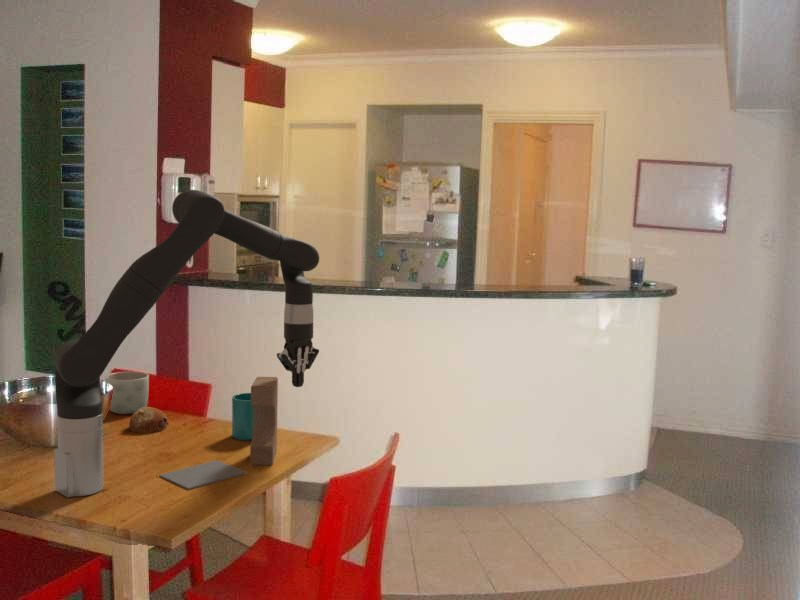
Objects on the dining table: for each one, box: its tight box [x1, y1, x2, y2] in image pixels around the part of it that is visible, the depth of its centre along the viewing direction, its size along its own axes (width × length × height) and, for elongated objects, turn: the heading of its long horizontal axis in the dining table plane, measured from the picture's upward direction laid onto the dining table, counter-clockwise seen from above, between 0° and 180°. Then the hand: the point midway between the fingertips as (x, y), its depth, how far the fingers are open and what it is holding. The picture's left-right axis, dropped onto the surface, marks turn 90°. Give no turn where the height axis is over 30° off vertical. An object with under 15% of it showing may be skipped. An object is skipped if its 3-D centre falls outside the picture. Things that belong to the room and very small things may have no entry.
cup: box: [231, 392, 254, 442], centre depth 222 cm, size 9×12×11 cm
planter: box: [105, 371, 150, 415], centre depth 244 cm, size 12×12×11 cm
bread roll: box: [128, 406, 169, 434], centre depth 227 cm, size 10×10×8 cm
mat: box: [159, 459, 247, 491], centre depth 191 cm, size 16×12×1 cm
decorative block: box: [249, 376, 279, 467], centre depth 203 cm, size 11×6×20 cm, turn 2°
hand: (297, 386), depth 210 cm, fingers closed
